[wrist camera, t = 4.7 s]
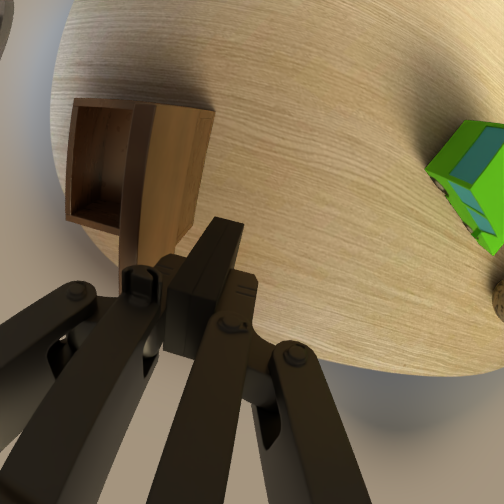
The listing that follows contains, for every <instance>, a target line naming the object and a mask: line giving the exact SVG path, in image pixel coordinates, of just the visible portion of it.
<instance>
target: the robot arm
mask: <svg viewBox="0 0 504 504" xmlns="http://www.w3.org/2000/svg"><path fill="white" fill-rule="evenodd" d="M243 228H244V224H243V223H239V222H235V221H231V220H227V219H223V218H219V217H214V218H213V220H212V221H211V223H210V224H209V225H208V227H207V228H206V230H205V231H204V233H203V234H202V236H201V237H200V239H199V240H198V241H197V243H196V244H195V246H194V247H193V249H192V250H191V252H190V253H189V255H188V256H187V258H186V257H182V256H179V255H175V254H171V253H170V254H168V255H166V256H163V257H161V258H160V260H159V261H158V262H157V263H156V265H155V266H154V267H151V266H147V265H132V266H128V267H126V268H124V269H123V270H122V293H121V294H120V296H119V297H103V296H97V293H96V289H95V287H94V286H93V285H91V284H90V283H87V282H85V281H71V282H69V283H66V284H64V285H62V286H61V287H59V288H57V289H56V290H54V291H52V292H51V293H49V294H48V295H46V296H44V297H43V298H41V299H39V300H38V301H36V302H35V303H33V304H31V305H30V306H28V307H27V308H25V309H24V310H22V311H20V312H19V313H17V314H16V315H14V316H13V317H11V318H10V319H9V320H7V321H5V322H4V323H2V324H1V325H0V452H1V451H2V450H3V449H4V448H5V447H6V446H7V445H8V444H9V443H10V442H11V441H12V440H13V439H15V438H16V437H17V436H18V435H19V434H20V433H21V432H22V431H23V432H22V433H21V435H20V437H19V438H18V440H17V442H16V443H15V445H14V447H13V449H12V450H11V452H10V454H9V456H8V458H7V459H6V461H5V463H4V465H3V467H2V468H1V470H0V504H97V502H98V499H99V497H100V494H101V492H102V489H103V486H104V484H105V481H106V479H107V476H108V474H109V472H110V469H111V467H112V464H113V462H114V459H115V457H116V454H117V452H118V450H119V447H120V445H121V442H122V440H123V438H124V436H125V433H126V431H127V429H128V426H129V424H130V422H131V419H132V417H133V415H134V413H135V410H136V408H137V406H138V404H139V401H140V399H141V397H142V394H143V392H144V390H145V388H146V386H147V383H148V381H149V379H150V377H151V375H152V373H153V370H154V368H155V366H156V364H157V362H158V358H159V349H160V347H161V345H162V343H163V351H167V352H170V353H173V354H176V355H180V356H183V357H186V358H190V359H193V360H194V363H193V365H192V368H191V371H190V374H189V377H188V380H187V383H186V386H185V388H184V391H183V394H182V397H181V400H180V403H179V406H178V409H177V411H176V414H175V417H174V420H173V423H172V426H171V429H170V432H169V435H168V438H167V441H166V444H165V447H164V450H163V453H162V456H161V459H160V462H159V465H158V468H157V471H156V474H155V477H154V480H153V483H152V486H151V489H150V492H149V495H148V498H147V502H146V504H223V503H224V497H225V492H226V486H227V481H228V475H229V469H230V464H231V458H232V452H233V447H234V441H235V434H236V429H237V423H238V418H239V412H240V406H241V399H244V400H246V401H248V402H250V403H252V404H251V407H252V412H253V419H254V425H255V431H256V436H257V442H258V447H259V454H260V459H261V464H262V470H263V475H264V481H265V486H266V491H267V497H268V502H269V504H372V503H371V500H370V497H369V494H368V491H367V488H366V486H365V483H364V480H363V478H362V474H361V472H360V469H359V466H358V464H357V461H356V458H355V455H354V453H353V450H352V447H351V445H350V442H349V439H348V437H347V434H346V431H345V429H344V426H343V423H342V421H341V418H340V415H339V413H338V410H337V408H336V405H335V402H334V400H333V397H332V394H331V392H330V389H329V387H328V384H327V382H326V379H325V376H324V374H323V371H322V369H321V366H320V364H319V361H318V359H317V356H316V355H315V353H314V352H313V350H312V349H310V348H309V347H308V346H307V345H305V344H303V343H300V342H298V341H292V340H288V341H282V342H280V343H278V344H277V345H276V346H275V345H273V344H271V343H269V342H267V341H265V340H264V339H262V338H261V337H260V336H259V335H257V333H256V332H255V331H254V329H253V326H252V319H253V313H254V307H255V300H256V294H257V288H258V281H257V279H256V277H255V275H254V274H250V273H247V272H243V271H239V270H235V269H234V266H235V261H236V257H237V253H238V249H239V245H240V241H241V236H242V232H243ZM65 334H66V338H65V339H63V340H59V339H60V338H61V337H63V336H64V335H65Z"/></svg>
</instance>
